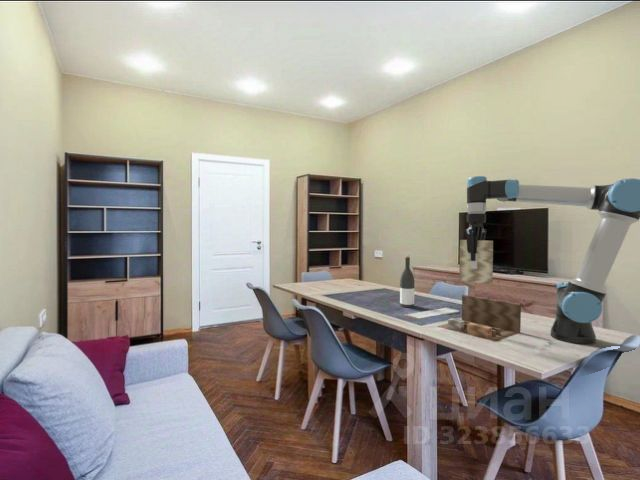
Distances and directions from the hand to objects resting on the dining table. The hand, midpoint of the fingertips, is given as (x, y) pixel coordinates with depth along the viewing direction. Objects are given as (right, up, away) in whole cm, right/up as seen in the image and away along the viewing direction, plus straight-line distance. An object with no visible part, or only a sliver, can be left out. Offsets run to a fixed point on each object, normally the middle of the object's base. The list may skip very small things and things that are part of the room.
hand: (475, 268), depth 148 cm
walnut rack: (+2, -28, +2) cm, 28 cm away
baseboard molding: (-7, -28, +36) cm, 47 cm away
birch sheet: (0, -6, 0) cm, 6 cm away
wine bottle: (-15, -27, +55) cm, 63 cm away
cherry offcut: (-1, -27, -6) cm, 28 cm away
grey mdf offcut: (-7, -27, +2) cm, 28 cm away
